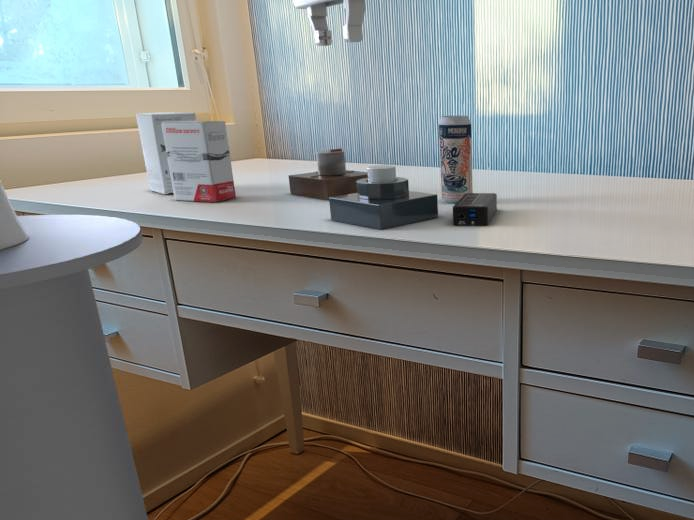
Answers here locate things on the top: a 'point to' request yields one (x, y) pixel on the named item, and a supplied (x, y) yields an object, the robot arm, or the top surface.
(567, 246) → the top surface
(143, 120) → the white packaging box
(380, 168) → the white short cylinder
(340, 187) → the brown rectangular block
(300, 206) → the top surface
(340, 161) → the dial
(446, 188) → the coffee can
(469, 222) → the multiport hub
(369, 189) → the push button base
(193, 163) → the ink box
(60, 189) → the top surface
